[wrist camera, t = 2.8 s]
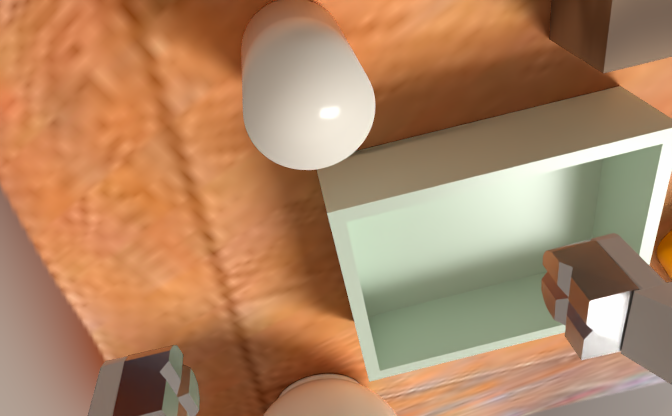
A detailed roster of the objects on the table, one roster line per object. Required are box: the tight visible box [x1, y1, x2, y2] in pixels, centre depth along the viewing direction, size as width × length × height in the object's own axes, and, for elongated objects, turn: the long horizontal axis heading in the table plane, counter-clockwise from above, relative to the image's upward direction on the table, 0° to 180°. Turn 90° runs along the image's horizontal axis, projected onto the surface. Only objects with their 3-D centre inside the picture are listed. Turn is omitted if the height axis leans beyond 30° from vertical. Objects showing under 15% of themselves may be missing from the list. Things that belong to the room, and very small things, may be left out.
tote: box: [317, 86, 672, 382], centre depth 31 cm, size 14×18×5 cm
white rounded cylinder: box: [241, 0, 375, 170], centre depth 22 cm, size 5×5×7 cm
